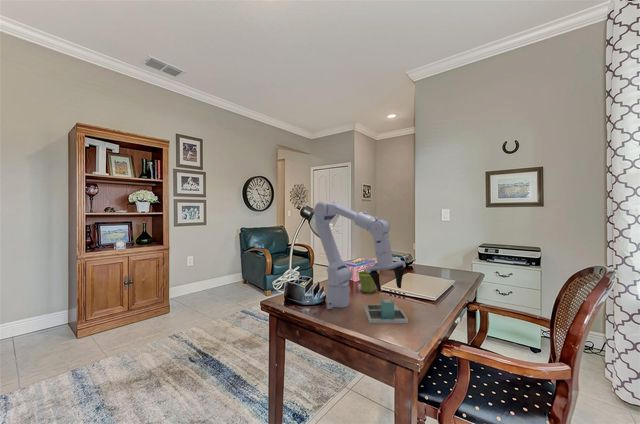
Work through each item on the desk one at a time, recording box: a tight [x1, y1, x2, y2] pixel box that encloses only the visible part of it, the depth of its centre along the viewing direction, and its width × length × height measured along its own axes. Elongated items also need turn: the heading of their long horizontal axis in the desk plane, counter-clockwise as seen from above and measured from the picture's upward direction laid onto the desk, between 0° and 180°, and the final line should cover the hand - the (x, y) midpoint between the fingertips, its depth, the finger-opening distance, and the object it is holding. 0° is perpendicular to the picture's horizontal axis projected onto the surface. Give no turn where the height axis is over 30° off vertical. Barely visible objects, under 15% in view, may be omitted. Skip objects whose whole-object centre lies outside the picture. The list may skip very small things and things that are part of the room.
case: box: [365, 309, 409, 324], centre depth 95 cm, size 13×8×2 cm, turn 88°
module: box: [380, 299, 395, 319], centre depth 95 cm, size 4×4×6 cm
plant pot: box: [357, 270, 376, 294], centre depth 126 cm, size 9×9×9 cm
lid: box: [363, 303, 400, 313], centre depth 103 cm, size 13×8×1 cm, turn 88°
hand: (389, 289), depth 96 cm, fingers open, 7 cm apart
